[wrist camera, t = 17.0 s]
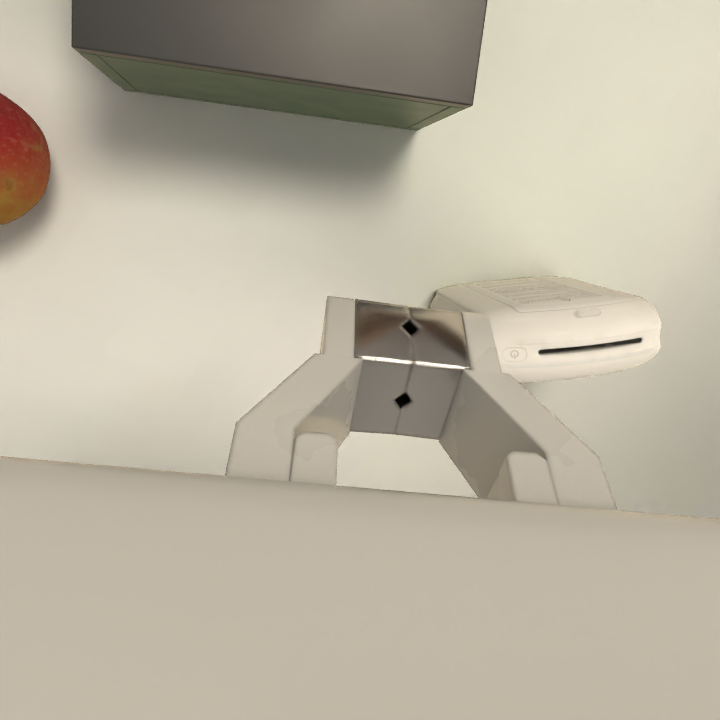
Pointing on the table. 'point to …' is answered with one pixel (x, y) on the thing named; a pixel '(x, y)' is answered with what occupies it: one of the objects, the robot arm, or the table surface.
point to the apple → (20, 161)
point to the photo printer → (559, 326)
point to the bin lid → (300, 41)
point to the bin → (268, 94)
